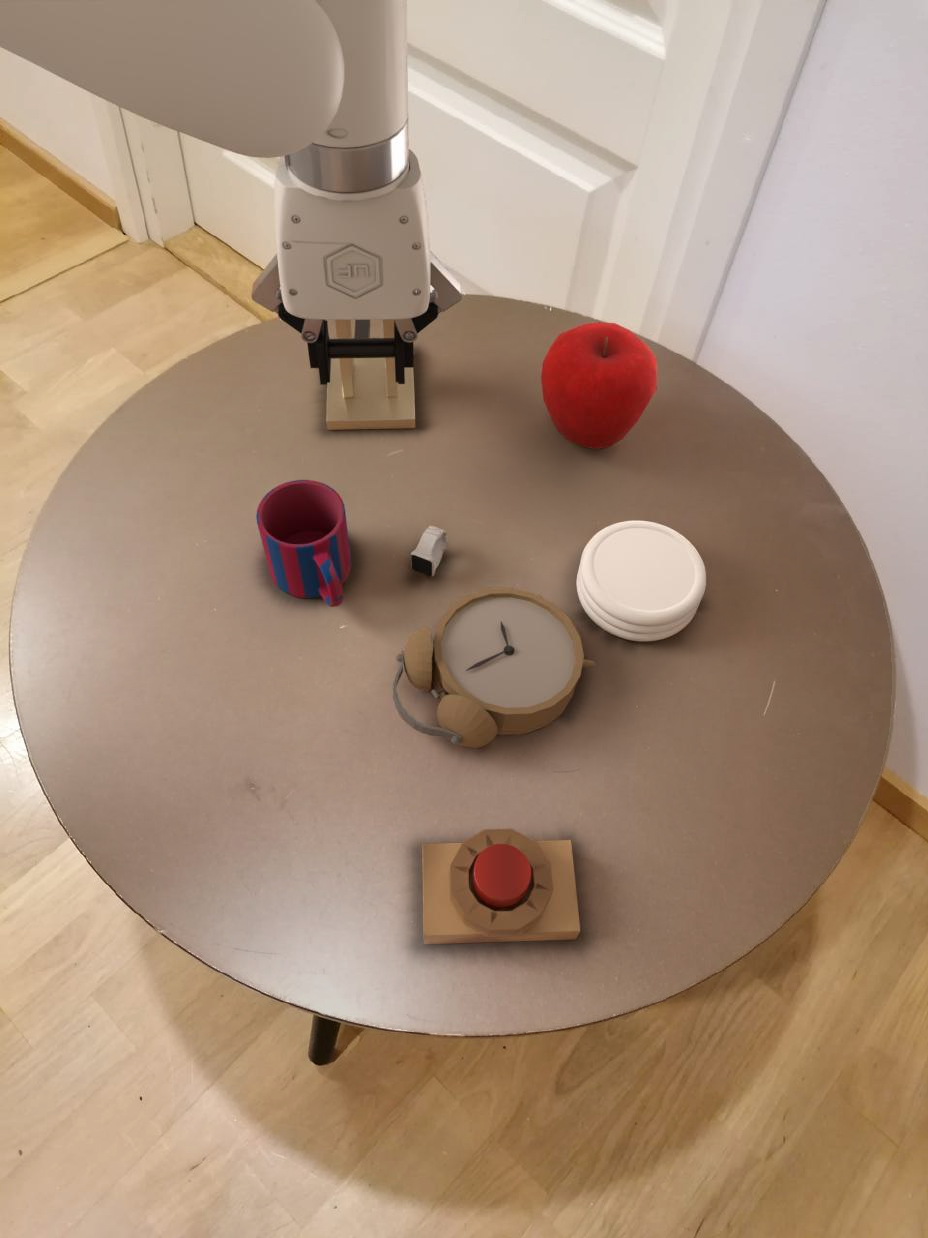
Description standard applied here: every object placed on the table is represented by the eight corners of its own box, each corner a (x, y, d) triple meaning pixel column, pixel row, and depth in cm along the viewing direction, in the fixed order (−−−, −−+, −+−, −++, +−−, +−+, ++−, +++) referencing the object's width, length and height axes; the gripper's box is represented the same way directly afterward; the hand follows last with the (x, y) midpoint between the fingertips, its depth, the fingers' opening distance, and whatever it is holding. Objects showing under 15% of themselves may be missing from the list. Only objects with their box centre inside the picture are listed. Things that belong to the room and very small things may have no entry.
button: (474, 909, 59) (475, 901, 57) (471, 853, 61) (472, 844, 59) (531, 907, 59) (533, 899, 57) (526, 851, 61) (529, 842, 59)
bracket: (415, 428, 86) (413, 314, 75) (327, 430, 85) (312, 315, 74) (412, 353, 91) (409, 236, 80) (329, 354, 90) (316, 237, 80)
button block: (423, 948, 61) (423, 932, 57) (422, 851, 64) (421, 830, 61) (576, 943, 61) (585, 927, 58) (566, 847, 65) (574, 826, 61)
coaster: (714, 633, 75) (726, 609, 72) (594, 653, 73) (601, 630, 70) (674, 535, 80) (683, 509, 77) (561, 552, 78) (566, 526, 75)
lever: (395, 366, 71) (394, 336, 69) (328, 367, 70) (326, 337, 69) (394, 300, 81) (393, 272, 79) (336, 301, 80) (334, 273, 79)
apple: (516, 444, 85) (527, 350, 76) (562, 380, 90) (577, 284, 80) (616, 486, 83) (639, 395, 73) (657, 418, 87) (684, 324, 78)
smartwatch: (428, 544, 78) (428, 514, 75) (452, 552, 78) (452, 523, 75) (410, 576, 77) (408, 547, 73) (434, 585, 76) (433, 556, 73)
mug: (338, 524, 79) (331, 470, 74) (373, 618, 74) (368, 568, 69) (260, 544, 78) (247, 491, 72) (290, 641, 73) (278, 592, 67)
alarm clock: (617, 671, 69) (447, 752, 62) (597, 707, 73) (435, 787, 66) (531, 565, 74) (365, 630, 67) (517, 604, 78) (358, 669, 71)
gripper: (198, 178, 54) (247, 407, 70) (490, 180, 55) (476, 405, 71) (211, 108, 59) (255, 339, 74) (483, 111, 59) (470, 338, 75)
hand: (363, 369), depth 72 cm, fingers closed on lever, 5 cm apart
